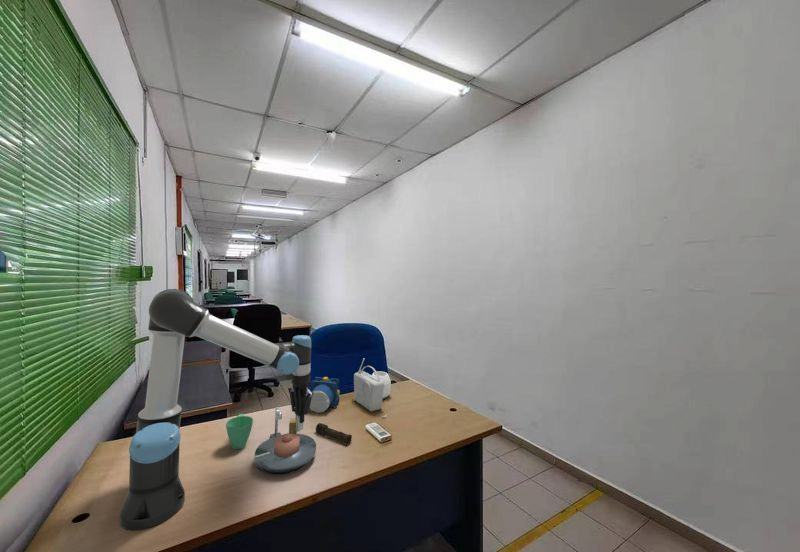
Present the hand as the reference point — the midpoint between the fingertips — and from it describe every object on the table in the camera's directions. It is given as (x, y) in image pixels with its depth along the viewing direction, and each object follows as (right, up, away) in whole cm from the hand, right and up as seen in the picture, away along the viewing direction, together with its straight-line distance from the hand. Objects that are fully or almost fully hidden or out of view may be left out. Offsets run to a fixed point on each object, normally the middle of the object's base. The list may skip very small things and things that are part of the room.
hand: (299, 429), depth 131 cm
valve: (+1, -6, +35) cm, 36 cm away
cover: (-1, -2, -12) cm, 12 cm away
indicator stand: (-10, -6, +2) cm, 12 cm away
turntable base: (-2, -6, -11) cm, 12 cm away
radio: (+24, -7, +41) cm, 47 cm away
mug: (-25, -5, -1) cm, 25 cm away
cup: (+30, -7, +53) cm, 61 cm away
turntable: (-2, -4, -10) cm, 11 cm away
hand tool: (+12, -7, +6) cm, 15 cm away
